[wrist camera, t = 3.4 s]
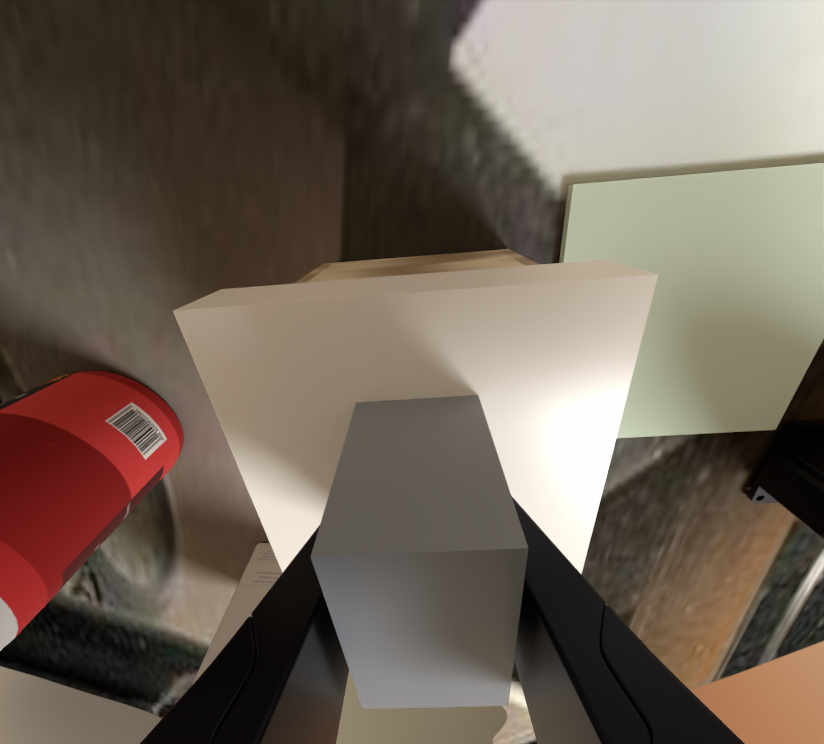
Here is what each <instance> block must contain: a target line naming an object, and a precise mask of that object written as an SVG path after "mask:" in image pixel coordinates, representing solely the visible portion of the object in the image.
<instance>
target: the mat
mask: <svg viewBox="0 0 824 744" xmlns="http://www.w3.org/2000/svg"><path fill="white" fill-rule="evenodd" d="M605 259H608V260H611V261H615V262H618V263H621V264H625V265H628V266H632V267H635V268H638V269H642V270H645V271H649V272H652V273H655V274H658V278H657V282H656V286H655V290H654V294H653V298H652V301H651V305H650V309H649V313H648V317H647V321H646V325H645V329H644V333H643V336H642V340H641V344H640V348H639V352H638V356H637V360H636V364H635V368H634V371H633V375H632V379H631V383H630V387H629V391H628V395H627V399H626V403H625V406H624V410H623V414H622V418H621V422H620V426H619V430H618V434H617V437H616V438H631V437H649V436H668V435H687V434H706V433H725V432H743V431H762V430H776V428H777V426H778V424H779V422H780V421H781V419H782V417H783V415H784V413H785V411H786V409H787V407H788V405H789V403H790V402H791V400H792V398H793V396H794V394H795V392H796V390H797V388H798V386H799V384H800V383H801V381H802V379H803V377H804V375H805V373H806V371H807V369H808V367H809V365H810V364H811V362H812V360H813V358H814V356H815V354H816V352H817V350H818V348H819V346H820V344H821V343H822V341H823V339H824V163H814V164H802V165H791V166H779V167H768V168H756V169H744V170H733V171H721V172H710V173H698V174H687V175H675V176H663V177H652V178H640V179H629V180H617V181H605V182H594V183H582V184H571V185H568V194H567V202H566V210H565V218H564V226H563V235H562V243H561V251H560V259H559V263H567V262H580V261H592V260H605Z"/></svg>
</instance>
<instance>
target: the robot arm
mask: <svg viewBox="0 0 824 744" xmlns="http://www.w3.org/2000/svg"><path fill="white" fill-rule="evenodd" d="M511 497H512V496H511ZM747 497H748V498H749V499H750V500H751V501H752V502H754V503H777V502H779V503H780V504H781V505H782V506H784V507H785V508H786V509H787V510H788V511H790V512H791V513H792V514H793V515H794V516H796V517H797V518H798V519H799V520H800V521H802V522H803V523H804V524H805V525H807V526H808V527H809V528H810V529H811V530H813V531H814V532H815V533H816V534H817V535H819V536H820V537H821V538H823V539H824V421H809V422H793V423H789V424H787V425H786V426H784V427H783V429H782V430H781V432H780V434H779V436H778V438H777V440H776V441H775V443H774V445H773V447H772V449H771V451H770V453H769V454H768V456H767V458H766V460H765V462H764V464H763V466H762V467H761V469H760V471H759V473H758V475H757V477H756V479H755V481H754V482H753V484H752V486H751V488H750V490H749V492H748V494H747ZM512 500H513V503H514V506H515V509H516V512H517V515H518V518H519V521H520V524H521V527H522V530H523V533H524V536H525V539H526V542H527V545H528V555H527V563H526V571H525V578H524V586H523V594H522V601H521V609H520V617H519V625H518V632H517V640H516V648H515V655H514V659H515V663H516V666H517V670H518V674H519V678H520V681H521V685H522V689H523V692H524V696H525V700H526V703H527V707H528V711H529V714H530V718H531V722H532V725H533V729H534V733H535V736H536V740H537V744H744V743H743V742H742V741H741V740H740V739H739V738H738V737H737V736H736V735H735V734H734V733H733V732H732V731H731V730H730V729H729V728H728V727H727V726H726V725H725V724H724V723H723V722H722V721H721V720H720V719H719V718H718V717H717V716H716V715H715V714H714V713H712V711H710V710H709V709H708V708H707V707H706V706H705V705H704V704H703V703H702V702H701V701H700V700H699V699H698V698H697V697H696V696H695V695H694V694H693V693H692V692H691V691H690V690H689V689H688V688H687V687H686V686H685V685H684V684H683V683H682V682H681V681H680V680H679V679H678V678H677V677H676V676H675V675H674V674H673V673H672V672H671V671H670V670H669V669H668V668H667V667H666V666H665V665H664V664H663V663H662V662H661V661H660V660H659V659H658V658H657V657H656V656H655V655H654V654H653V653H652V652H651V651H650V650H649V649H648V648H647V647H646V646H645V645H644V644H643V643H642V641H641V640H640V639H639V638H638V637H637V636H636V635H635V634H634V633H633V632H632V631H631V630H630V628H629V627H628V626H627V625H626V624H625V623H624V622H623V621H622V620H621V619H620V617H619V616H618V615H617V614H616V613H615V612H614V611H613V609H612V608H611V607H610V606H609V605H608V604H605V601H604V599H603V598H602V597H601V596H600V595H599V594H598V593H597V592H596V590H595V589H594V588H593V587H592V586H591V585H590V584H589V583H588V581H587V580H586V579H585V578H584V577H583V576H582V575H581V574H580V572H579V571H578V570H577V569H576V568H575V567H574V566H573V565H572V563H571V562H570V561H569V560H568V559H567V558H566V557H565V556H564V554H563V553H562V552H561V551H560V550H559V549H558V548H557V546H556V545H555V544H554V543H553V542H552V541H551V540H550V539H549V537H548V536H547V535H546V534H545V533H544V532H543V531H542V530H541V528H540V527H539V526H538V525H537V524H536V523H535V522H534V521H533V519H532V518H531V517H530V516H529V515H528V514H527V513H526V512H525V510H524V509H523V508H522V507H521V506H520V505H519V504H518V503H517V501H516V500H515V499H514V498H513V497H512ZM319 527H320V525H319V526H318V528H317V529H316V530H315V532H314V533H313V534H312V536H311V537H310V538H309V539H308V541H307V542H306V543H305V545H304V546H303V547H302V548H301V550H300V551H299V552H298V554H297V555H296V556H295V557H294V559H293V560H292V561H291V563H290V564H289V565H288V566H287V568H286V569H285V570H284V572H283V573H282V574H281V575H280V577H279V578H278V579H277V581H276V582H275V583H274V584H273V586H272V587H271V588H270V590H269V591H268V592H267V594H266V595H265V596H264V597H263V599H262V600H261V601H260V603H259V604H258V605H257V606H256V608H255V609H254V610H253V612H252V614H251V615H252V617H251V616H249V617H248V618H247V619H246V620H245V622H244V623H243V624H242V626H241V627H240V628H239V629H238V631H237V632H236V633H235V635H234V636H233V637H232V638H231V639H230V641H229V642H228V643H227V644H226V646H225V647H224V648H223V649H222V651H221V652H220V653H219V654H218V656H217V657H216V658H215V659H214V661H213V662H212V663H211V664H210V665H209V666H208V668H207V669H206V670H205V671H204V672H203V673H202V675H201V676H200V677H199V678H198V679H197V680H196V681H195V683H194V684H193V685H192V686H191V687H190V688H189V689H188V691H187V692H186V693H185V694H184V695H183V696H182V697H181V699H180V700H179V701H178V702H177V703H176V704H175V705H174V706H173V708H172V709H171V710H170V711H169V712H168V713H167V714H166V715H165V716H164V718H163V719H162V720H161V721H160V722H159V723H158V724H157V725H156V726H155V728H154V729H153V730H152V731H151V732H150V733H149V734H148V735H147V737H146V738H145V739H144V740H143V741H142V742H141V743H140V744H336V740H337V734H338V729H339V722H340V717H341V712H342V706H343V700H344V695H345V689H346V683H347V678H348V672H349V668H348V665H347V662H346V659H345V656H344V653H343V650H342V647H341V644H340V641H339V639H338V636H337V633H336V630H335V627H334V624H333V621H332V618H331V615H330V612H329V609H328V606H327V604H326V601H325V598H324V595H323V592H322V589H321V586H320V583H319V580H318V577H317V574H316V572H315V569H314V566H313V563H312V560H311V554H312V551H313V547H314V544H315V540H316V537H317V534H318V530H319Z"/></svg>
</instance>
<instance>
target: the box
mask: <svg viewBox="0 0 824 744" xmlns="http://www.w3.org/2000/svg"><path fill="white" fill-rule="evenodd" d="M528 265H539V264H537V263H535V262H533V261H531V260H529V259H527V258H525V257H523V256H521V255H519V254H517V253H515V252H513V251H511V250H509V249H502V250H490V251H477V252H464V253H451V254H439V255H426V256H413V257H401V258H388V259H375V260H362V261H350V262H337V263H324V264H322V265H321V266H319V267H318V268H316V269H315V270H313V271H312V272H310V273H309V274H307V275H306V276H304V277H302V278H301V279H299V280H298V281H296V282H295V283H294V284H296V283H309V282H321V281H334V280H347V279H360V278H373V277H386V276H399V275H412V274H425V273H438V272H450V271H463V270H476V269H489V268H502V267H515V266H528Z"/></svg>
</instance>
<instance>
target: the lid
mask: <svg viewBox="0 0 824 744" xmlns="http://www.w3.org/2000/svg"><path fill="white" fill-rule="evenodd" d="M657 278H658V274H655V273H652V272H649V271H645V270H642V269H638V268H635V267H632V266H628V265H625V264H621V263H618V262H615V261H611V260H608V259H605V260H592V261H580V262H567V263H554V264H541V265H528V266H515V267H502V268H489V269H476V270H463V271H450V272H438V273H425V274H412V275H399V276H386V277H373V278H360V279H347V280H334V281H321V282H309V283H296V284H283V285H270V286H257V287H244V288H231V289H221V290H218V291H216V292H214V293H212V294H209V295H207V296H205V297H203V298H201V299H198V300H196V301H194V302H192V303H189V304H187V305H185V306H183V307H180V308H178V309H176V310H174V311H173V313H174V315H175V317H176V320H177V322H178V324H179V327H180V329H181V332H182V334H183V336H184V339H185V341H186V344H187V346H188V348H189V351H190V353H191V356H192V358H193V360H194V363H195V365H196V367H197V370H198V372H199V375H200V377H201V379H202V382H203V384H204V387H205V389H206V391H207V394H208V396H209V399H210V401H211V403H212V406H213V408H214V410H215V413H216V415H217V418H218V420H219V422H220V425H221V427H222V430H223V432H224V434H225V437H226V439H227V441H228V444H229V446H230V449H231V451H232V453H233V456H234V458H235V461H236V463H237V465H238V468H239V470H240V473H241V475H242V477H243V480H244V482H245V484H246V487H247V489H248V492H249V494H250V496H251V499H252V501H253V504H254V506H255V508H256V511H257V513H258V516H259V518H260V520H261V523H262V525H263V527H264V530H265V532H266V535H267V537H268V539H269V542H270V544H271V547H272V549H273V551H274V554H275V556H276V559H277V561H278V563H279V566H280V568H281V570H282V573H283V572H284V570H285V569H286V568H287V566H288V565H289V564H290V563H291V561H292V560H293V559H294V557H295V556H296V555H297V554H298V552H299V551H300V550H301V548H302V547H303V546H304V545H305V543H306V542H307V541H308V539H309V538H310V537H311V536H312V534H313V533H314V532H315V530H316V529H317V528H318V526H319V525H320V527H319V530H318V534H317V537H316V540H315V544H314V547H313V551H312V554H311V560H312V563H313V566H314V569H315V572H316V574H317V577H318V580H319V583H320V586H321V589H322V592H323V595H324V598H325V601H326V604H327V606H328V609H329V612H330V615H331V618H332V621H333V624H334V627H335V630H336V633H337V636H338V639H339V641H340V644H341V647H342V650H343V653H344V656H345V659H346V662H347V665H348V668H349V671H350V674H351V676H352V679H353V681H354V685H355V688H356V691H357V694H358V697H359V700H360V703H361V705H362V708H363V709H375V708H422V707H471V706H508V702H509V694H510V686H511V679H512V671H513V663H514V655H515V648H516V640H517V632H518V625H519V617H520V609H521V601H522V594H523V586H524V578H525V571H526V563H527V555H528V545H527V542H526V539H525V536H524V533H523V530H522V527H521V524H520V521H519V518H518V515H517V512H516V509H515V506H514V503H513V500H512V497H513V498H514V499H515V500H516V501H517V503H518V504H519V505H520V506H521V507H522V508H523V509H524V510H525V512H526V513H527V514H528V515H529V516H530V517H531V518H532V519H533V521H534V522H535V523H536V524H537V525H538V526H539V527H540V528H541V530H542V531H543V532H544V533H545V534H546V535H547V536H548V537H549V539H550V540H551V541H552V542H553V543H554V544H555V545H556V546H557V548H558V549H559V550H560V551H561V552H562V553H563V554H564V556H565V557H566V558H567V559H568V560H569V561H570V562H571V563H572V565H573V566H574V567H575V568H576V569H577V570H578V571H579V572H580V574H582V570H583V566H584V562H585V558H586V554H587V550H588V546H589V542H590V539H591V535H592V531H593V527H594V523H595V519H596V515H597V511H598V507H599V504H600V500H601V496H602V492H603V488H604V484H605V480H606V476H607V472H608V469H609V465H610V461H611V457H612V453H613V449H614V445H615V441H616V437H617V434H618V430H619V426H620V422H621V418H622V414H623V410H624V406H625V403H626V399H627V395H628V391H629V387H630V383H631V379H632V375H633V371H634V368H635V364H636V360H637V356H638V352H639V348H640V344H641V340H642V336H643V333H644V329H645V325H646V321H647V317H648V313H649V309H650V305H651V301H652V298H653V294H654V290H655V286H656V282H657ZM511 496H512V497H511Z"/></svg>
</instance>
